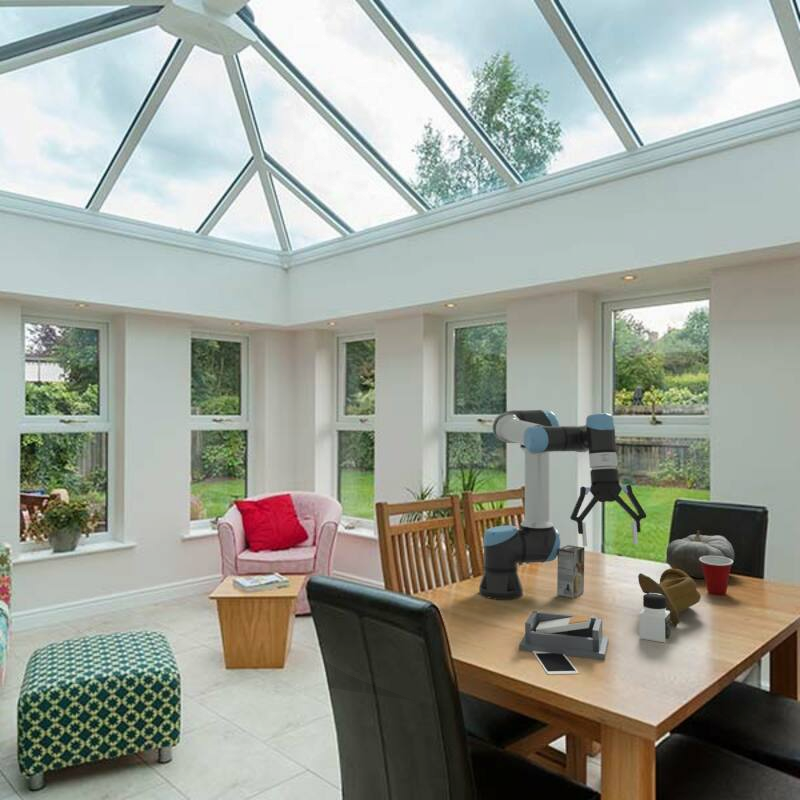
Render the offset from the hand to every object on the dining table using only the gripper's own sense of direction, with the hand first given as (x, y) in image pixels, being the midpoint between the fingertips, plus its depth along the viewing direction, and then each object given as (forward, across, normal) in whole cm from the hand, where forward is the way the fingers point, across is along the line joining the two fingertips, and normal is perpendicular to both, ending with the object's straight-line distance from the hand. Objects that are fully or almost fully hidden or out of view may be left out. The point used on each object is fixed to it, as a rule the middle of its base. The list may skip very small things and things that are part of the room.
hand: (610, 545), depth 185 cm
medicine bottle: (+26, +12, +9) cm, 30 cm away
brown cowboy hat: (+24, +21, +30) cm, 44 cm away
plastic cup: (+21, +45, +60) cm, 77 cm away
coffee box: (+20, -6, +53) cm, 57 cm away
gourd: (+17, +48, +87) cm, 101 cm away
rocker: (+21, -14, -2) cm, 26 cm away
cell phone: (+28, -18, -13) cm, 36 cm away
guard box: (+26, -14, -1) cm, 30 cm away
